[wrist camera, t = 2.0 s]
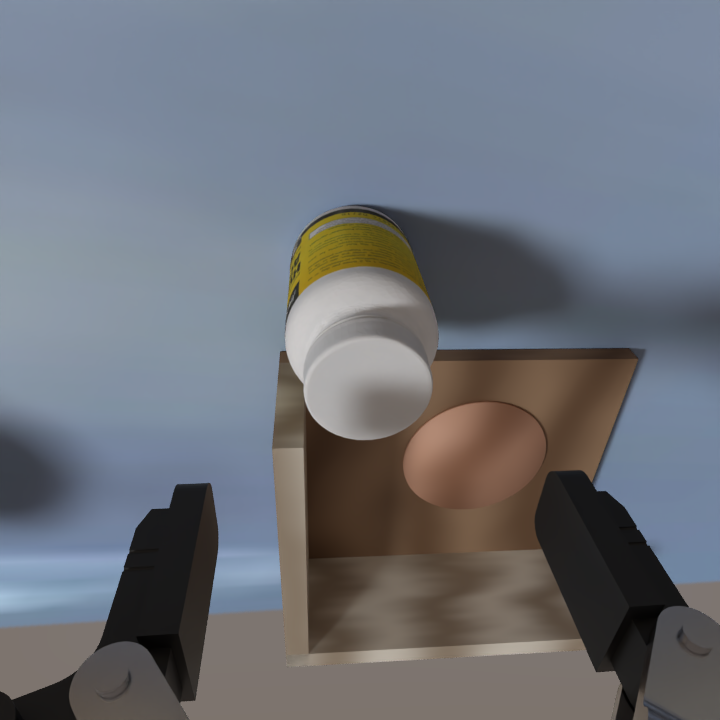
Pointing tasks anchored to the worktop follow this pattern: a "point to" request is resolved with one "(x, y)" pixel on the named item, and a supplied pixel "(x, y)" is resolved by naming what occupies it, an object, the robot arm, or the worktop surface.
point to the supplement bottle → (360, 324)
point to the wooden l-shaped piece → (438, 510)
